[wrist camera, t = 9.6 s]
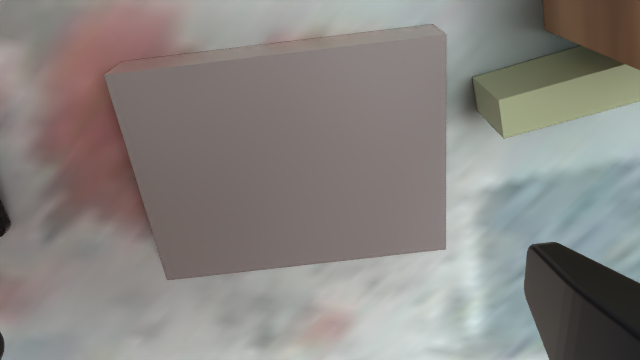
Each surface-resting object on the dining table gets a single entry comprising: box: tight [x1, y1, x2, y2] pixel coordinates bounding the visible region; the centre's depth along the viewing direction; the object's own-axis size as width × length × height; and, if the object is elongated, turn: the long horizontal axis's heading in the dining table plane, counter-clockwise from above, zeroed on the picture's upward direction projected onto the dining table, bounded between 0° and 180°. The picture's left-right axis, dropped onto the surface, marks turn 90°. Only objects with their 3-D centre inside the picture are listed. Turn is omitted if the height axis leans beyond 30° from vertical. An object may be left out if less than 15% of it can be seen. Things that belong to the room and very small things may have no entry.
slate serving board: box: [104, 24, 446, 280], centre depth 21 cm, size 12×9×2 cm
